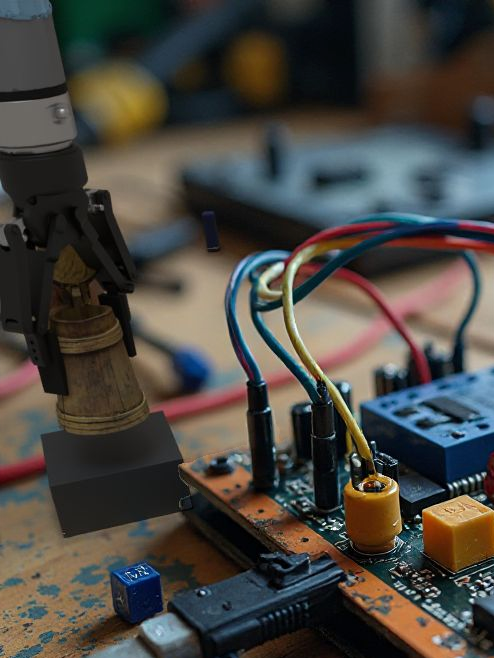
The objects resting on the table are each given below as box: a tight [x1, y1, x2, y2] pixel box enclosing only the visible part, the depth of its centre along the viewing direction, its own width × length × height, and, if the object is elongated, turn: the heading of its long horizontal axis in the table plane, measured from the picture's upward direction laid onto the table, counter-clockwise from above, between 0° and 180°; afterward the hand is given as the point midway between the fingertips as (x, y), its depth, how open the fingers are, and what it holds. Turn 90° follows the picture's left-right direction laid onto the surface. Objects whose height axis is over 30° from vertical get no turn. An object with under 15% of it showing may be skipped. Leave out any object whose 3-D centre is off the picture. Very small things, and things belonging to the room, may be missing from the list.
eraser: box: [201, 210, 221, 253], centre depth 191 cm, size 2×2×7 cm
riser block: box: [39, 410, 192, 539], centre depth 114 cm, size 13×13×6 cm
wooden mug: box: [38, 245, 151, 435], centre depth 106 cm, size 9×14×18 cm, turn 21°
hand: (92, 373), depth 109 cm, fingers open, 9 cm apart
